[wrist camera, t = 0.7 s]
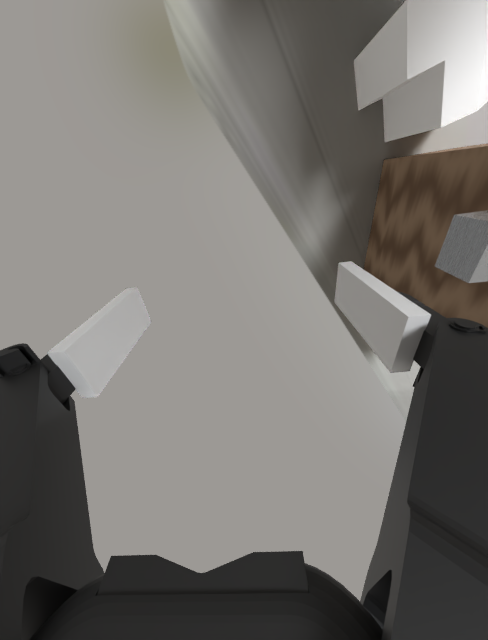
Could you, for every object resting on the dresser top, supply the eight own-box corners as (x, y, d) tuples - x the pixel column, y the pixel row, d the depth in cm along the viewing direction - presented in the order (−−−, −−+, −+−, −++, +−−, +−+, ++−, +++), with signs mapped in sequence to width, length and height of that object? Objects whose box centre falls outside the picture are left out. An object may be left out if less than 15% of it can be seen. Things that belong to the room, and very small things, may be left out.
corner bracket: (353, 60, 29) (407, -2, 19) (450, 4, 26) (574, -104, 16) (362, 153, 34) (407, 143, 24) (443, 114, 31) (532, 85, 21)
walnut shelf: (383, 159, 34) (657, 123, 11) (465, 146, 33) (964, 75, 10) (360, 284, 46) (468, 391, 23) (419, 278, 45) (595, 384, 22)
